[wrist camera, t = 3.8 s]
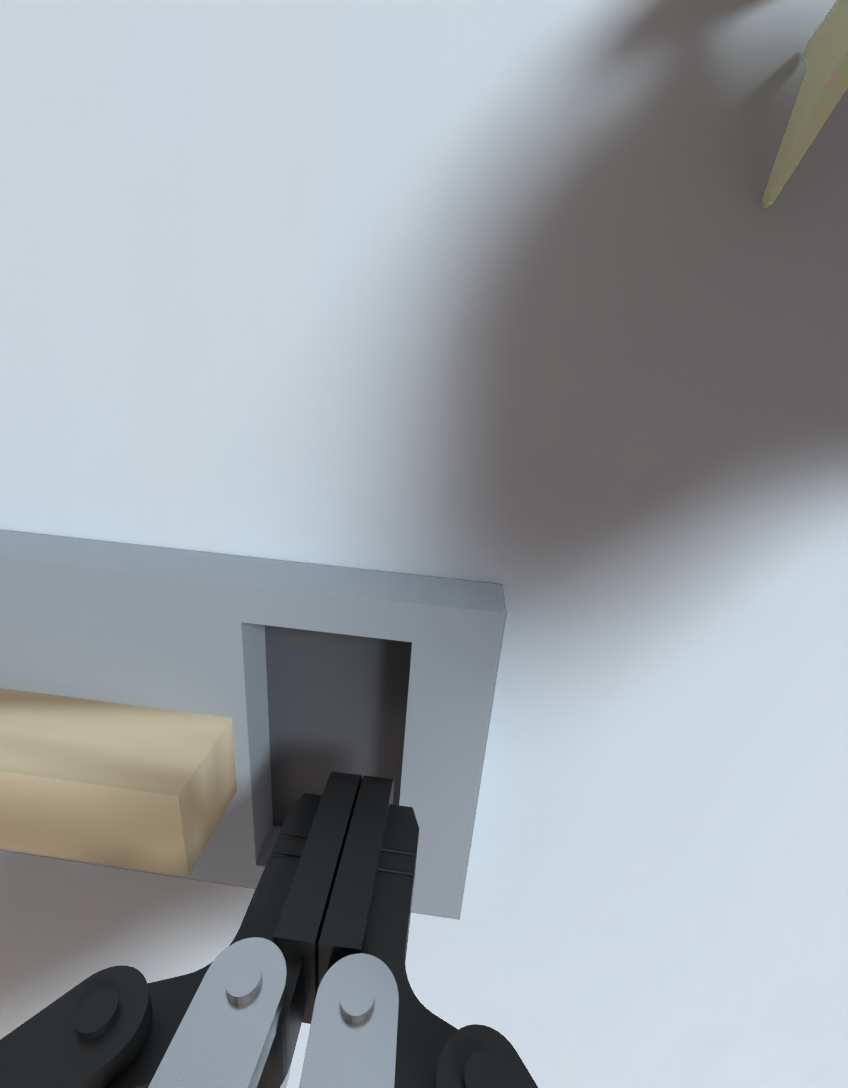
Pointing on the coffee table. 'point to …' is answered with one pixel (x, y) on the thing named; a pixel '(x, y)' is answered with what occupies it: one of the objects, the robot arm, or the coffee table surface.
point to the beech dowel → (112, 781)
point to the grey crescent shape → (813, 96)
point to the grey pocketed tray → (274, 678)
